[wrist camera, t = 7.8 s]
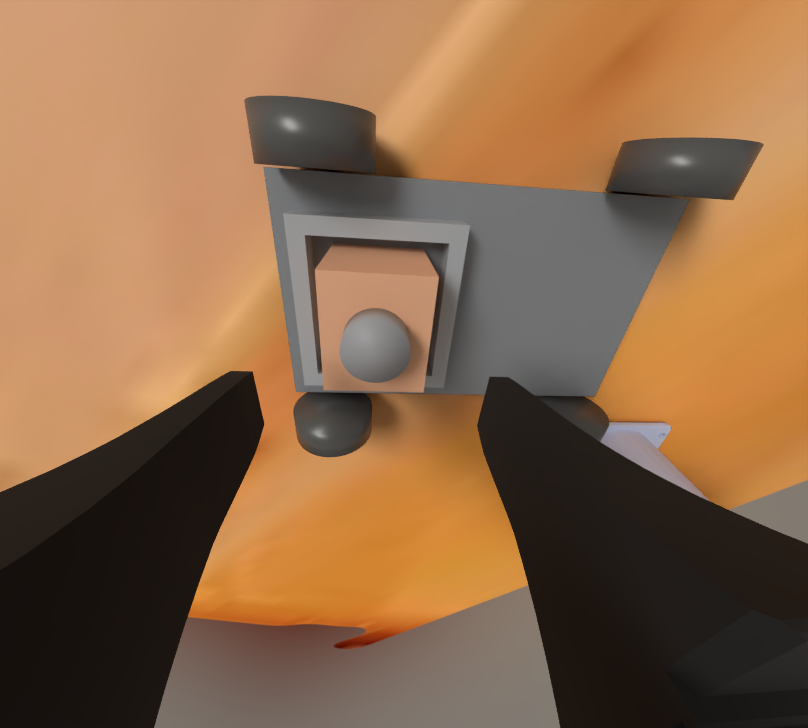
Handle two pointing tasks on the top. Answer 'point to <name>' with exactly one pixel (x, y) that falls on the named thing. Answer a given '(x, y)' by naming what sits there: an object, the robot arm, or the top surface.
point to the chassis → (476, 258)
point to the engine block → (375, 317)
